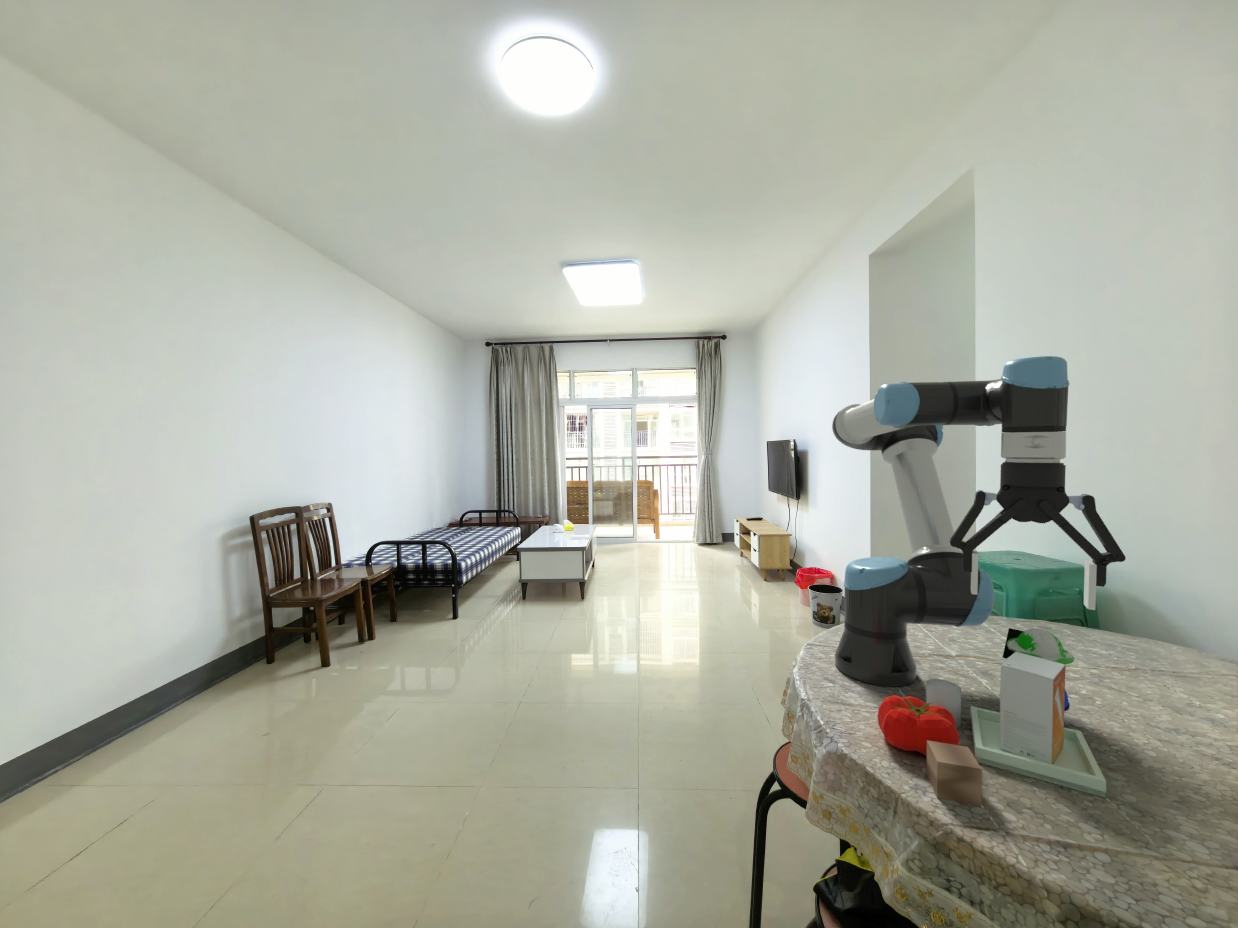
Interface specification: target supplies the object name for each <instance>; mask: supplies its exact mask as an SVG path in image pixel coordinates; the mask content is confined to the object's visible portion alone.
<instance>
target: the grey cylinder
mask: <svg viewBox="0 0 1238 928" xmlns="http://www.w3.org/2000/svg"><path fill="white" fill-rule="evenodd" d="M925 681H926V682H925V684H926V685H925V703H931V704H929V706H941V707H943V708H945V709H946V710H947V711H949V712H950V713H951V714H952V716H953V718H954V720H955V722H956V729H957V728H960V727H961V725H962V722H961V721H962V719H961V717H962V688H961V687H960V686H959V685H958V684H957V683H955V682H952V681H949V680H947V679H946V680H945V679H941V678H929V679H926V680H925ZM933 702H934V703H933Z"/></svg>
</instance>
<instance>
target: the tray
mask: <svg viewBox="0 0 1238 928" xmlns="http://www.w3.org/2000/svg"><path fill="white" fill-rule="evenodd" d="M970 724H971V731H972V732H971V734H972V741H973V750H974V757H975V759H976V761H977V762H978V764H979V763H980V764H983V765H986V766H990V767H994V768H997V769H1001V770H1005V771H1007V772H1011V773H1015V774H1018V775H1022V776H1025V777H1030V778H1032V779H1037V780H1040V781H1043V782H1047V783H1052V784H1055V785H1057V786H1062V787H1065V788H1067V789H1068V788H1069V789H1072V790H1076V791H1080V792H1082V793H1086V794H1087V793H1088V794H1089V795H1093V796H1097V797H1102V798H1105V799H1106V798H1107V780H1106V778H1105V776H1104V774H1103V772H1102V771H1101V768H1100V766H1099V765H1098V762H1097V760H1096V758H1095V757H1094V755H1093V752H1092V750H1091V749H1090V747H1089V745H1088V743H1087V741H1086V739H1085V736H1084V735H1083V733H1082V731H1081V730H1078V729H1072V728H1068V727H1065V726H1064V745H1063V749H1062V750H1061V752H1060V753H1059V755H1058V757H1057V759H1056V760H1055V762H1054V764H1053V765H1052V764H1048V763H1044V762H1041V761H1037V760H1033V759H1029V758H1025V757H1022V756H1018V755H1016V754H1013V753H1011V752H1008V751H1005V750H1003V749H1000V748H999V731H1000V711H999V712H998V711H995V710H994V711H993V710H990V709H985V708H982V707H977V706H973V705H972V706H971V705H970Z"/></svg>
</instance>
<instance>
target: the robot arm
mask: <svg viewBox="0 0 1238 928" xmlns="http://www.w3.org/2000/svg"><path fill="white" fill-rule="evenodd" d="M1068 378H1069V377H1068V362H1067V360H1066V359H1065V358H1063V357H1061V356H1057V355H1055V356H1052V355H1045V356H1044V355H1041V356H1033V357H1032V356H1030V357H1029V356H1028V357H1024V358H1017V359H1012V360H1009V361H1007V362H1005V365H1004V366H1003V369H1002V374H1001V377H1000V378H999V379H991V380H965V381H964V380H962V381H959V380H958V381H935V382H934V381H933V382H931V381H929V382H928V381H927V382H926V381H925V382H906V381H899V382H895V383H894V382H893V383H884V384H882V385H880V386H879V388H878V389H877V391H876V393H875V395H874V399H872V400H871V399H870V400H869V401H867V402H865V403H862V404H860V403H855V404H850V405H848V406H847V405H846V407H844V408H842V409H841V410H839V411H838V412H837V413H836V415H835V416H834V418H833V420H832V424H831V427H832V432H833V435H834V437H835V438H836V440H838V441H839V442H840V443H841V444H842V445H844V446H846V447H848V448H851V449H854V450H858V451H859V450H860V451H881V456H882V459H883V461H885V462H886V463H888V464H890V465H891V467H892V472H893V475H894V480H895V484H896V488H897V489H896V490H897V492H898V498H899V501H900V506H901V510H902V515H903V518H904V522H905V527H906V531H907V535H908V540H909V544H910V549H911V553H912V555H911V556H910V557H909V558H908V559H907V561H906V560H904V559H902V558H899V557H895V556H894V557H893V556H890V557H888V556H887V557H885V556H869V557H861V558H858V559H855V560H852V561H851V562H849V563H848V564H847V565H846V567H845V573H844V582H843V587H844V627H843V632H842V634H841V638H840V640H839V642H838V645H837V648H836V651H835V657H834V658H835V659H834V660H835V661H834V663H835V664H836V665H835V664H834V665H835V667H836V666H837V667H836V668H837V669H838V670H839V671H840V672H841V673H842V674H844V673H845V674H844V675H846V676H848V677H850V678H852V679H855V680H858V681H861V682H864V683H867V684H871V685H877V686H883V687H884V686H885V687H903V686H908V685H911V684H913V683H915V681H916V680H917V666H916V663H915V659H914V657H913V656H914V655H913V654H912V651H911V648H910V645H909V642H908V637H907V636H908V633H907V632H908V631H907V629H908V624H913V625H914V624H916V625H933V626H936V625H937V626H950V627H951V626H953V627H957V628H960V627H977V626H980V625H982V624H984V623H985V622H986V621H987V620H988V619H989V617H990V616H991V613H992V612H993V608H994V602H995V589H994V583H993V580H992V578H991V576H990V574H989V573H987V571H986V570H985V569H983V568H980V567H979V553H978V550H975V549H976V548H977V547H979V546H980V545H981V544H982V543H983V542H985V541H986V540H987V539H988V538H989V537H991V536H992V535H993V534H994V533H996V531H998V530H999V529H1000V528H1001V527H1003V526H1004V525H1005V524H1007V523H1009V521H1010V520H1011V519H1012V520H1014V521H1017V522H1019V523H1029V522H1033V523H1035V524H1036V523H1037V524H1047V523H1049V522H1051V521H1052V522H1054V524H1056V525H1057V526H1058V527H1059V529H1061V531H1062V532H1064V533H1065V534H1066V535H1067V536H1068V537H1069V538H1070V539H1071V540H1072V541H1073V542H1074V543H1075V544H1076V545H1077V546H1078V547H1079V548H1080V549H1081V550H1082V551H1083V552H1084V553H1086V555H1088V556H1089V558H1091V559H1092V560H1084V576H1083V583H1084V584H1083V605H1084V606H1085V608H1086V609H1087V610H1092V611H1096V602H1097V597H1096V596H1097V587H1102V588H1104V587H1105V586H1106V584H1107V570H1108V569H1107V566H1108V565H1109V564H1112V563H1117V562H1119V563H1122V562H1125V561H1126V556H1125V554H1124V552H1123V551H1122V549H1121V547H1120V546H1119V544H1118V543H1117V541H1116V540H1115V538H1114V537H1113V535H1112V533H1111V532H1110V530H1109V529H1108V527H1107V526H1106V524H1105V522H1104V521H1103V519H1102V517H1101V516H1100V515H1099V513H1098V511H1097V506H1096V498H1095V497H1094V496H1093V495H1090V494H1086V493H1082V494H1080V495H1067V494H1068V493H1066V469H1067V468H1066V467H1067V465H1066V464H1065V463H1064V462H1061V460H1064V459H1065V458H1066V457H1067V424H1068V405H1069V404H1068V403H1069V401H1068V400H1069V386H1070V381H1069V380H1068ZM996 425H1001V435H1000V436H1001V441H1000V442H1001V443H1000V444H1001V445H1000V457H1001V458H1002V459H1005V460H1004V462H1002V463H1001V464H1000V477H999V478H1000V481H999V482H1000V483H999V484H1000V485H999V490H998V492H997V493H995V492H987V491H984V490H981V489H979V490H977V491H975V494H974V502H973V504H972V506H971V507H970V508H969V510H968V512H967V513H966V515H965V516H964V518H963V519H962V520H961V522H960V524H959V525H958V526H957V528H956V530H954V528H953V524H952V521H951V517H950V514H949V510H948V506H947V504H946V500H945V496H944V493H943V488H942V485H941V482H940V479H939V476H938V471H937V468H936V466H935V465H936V464H935V462H934V458H933V457H934V455H935V454H936V453H937V451H938V448H939V447H940V446H941V443H942V441H943V438H944V432H943V429H944V426H975V427H976V426H978V427H982V426H987V427H991V426H996ZM993 501H996V502H997V503H998V505H999V506H1000V507H1002V509H1001V510H1000V511H999V512H998V513H996V515H995V516H994V517H993V518H992V519H991V520H990V521H988V522H987V523H986V524H985V525H983V527H982V528H980V529H979V530H978V531H977V532H976V533H974V534H973V535H972V536H971V537H969V538H968V539H967V540H966V541H964V538H965V537H966V535H967V533H968V532H969V530H970V529H971V528H972V526H973V525H974V523H975V521H976V520H977V518H978V517H979V516H980V514H981V512H983V509H984V507H985V506H986V507H987V506H989V505H991V503H992V502H993ZM1071 504H1072V505H1073V507H1074V508H1075V509H1076V510H1078V511H1081V512H1082V515H1083V517H1084V518H1085V520H1086V521H1087V522H1088V525H1089V526H1090V528H1091V529H1092V531H1093V532H1094V534H1095V535H1096V537H1097V539H1098V541H1099V542H1100V543H1101V544H1102V545H1101V546H1103V548H1104V549H1105V551H1106V552H1100V551H1099V550H1098V549H1097V547H1095V546H1094V545H1093V544H1092V543H1091V542H1090V541H1089V540H1088V539H1087V538H1086V537H1085V536H1084V535H1082V533H1080V532H1079V530H1078V529H1077V528H1075V526H1074V525H1072V523H1070V521H1068V520H1067V519H1066V518H1065V517H1064V516H1063V515H1062V514H1061V512H1062V511H1064V509H1066V508H1067V507H1068V506H1069V505H1071Z"/></svg>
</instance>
